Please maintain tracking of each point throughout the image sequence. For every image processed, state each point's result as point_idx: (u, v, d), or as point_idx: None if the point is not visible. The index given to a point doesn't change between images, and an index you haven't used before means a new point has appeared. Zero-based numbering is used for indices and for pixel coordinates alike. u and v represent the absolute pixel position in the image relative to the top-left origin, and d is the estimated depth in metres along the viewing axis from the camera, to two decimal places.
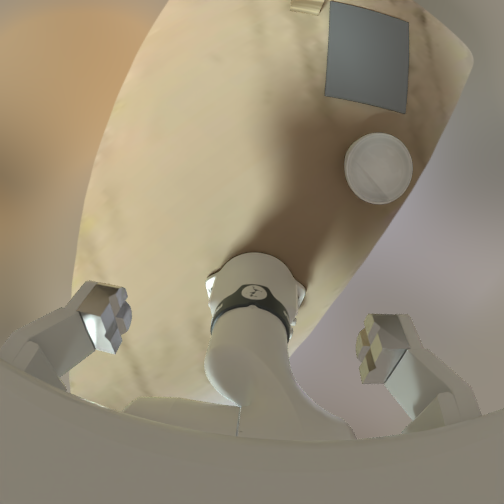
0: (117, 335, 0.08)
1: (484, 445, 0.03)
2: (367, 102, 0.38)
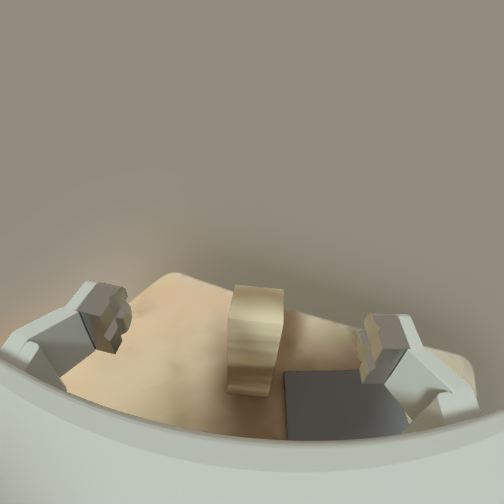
0: (117, 335, 0.08)
1: (484, 445, 0.03)
2: None
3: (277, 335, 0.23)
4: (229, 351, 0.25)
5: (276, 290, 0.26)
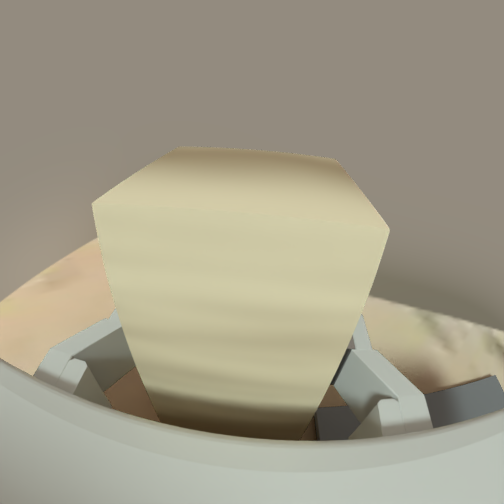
0: None
1: (484, 445, 0.03)
2: None
3: (346, 304, 0.05)
4: (144, 372, 0.06)
5: (314, 157, 0.07)
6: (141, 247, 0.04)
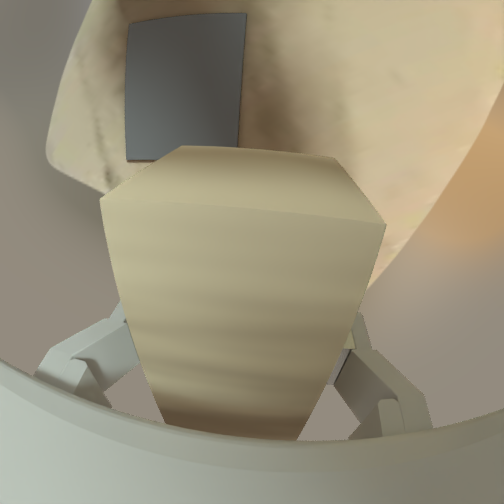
0: None
1: (484, 445, 0.03)
2: (183, 17, 0.23)
3: (345, 297, 0.05)
4: (147, 366, 0.06)
5: (314, 157, 0.08)
6: (147, 241, 0.04)
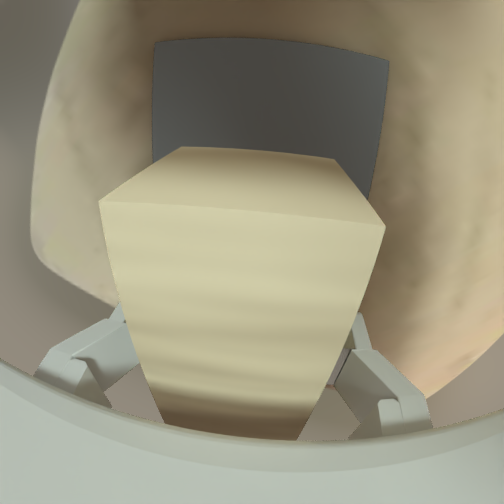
0: None
1: (484, 445, 0.03)
2: (271, 42, 0.13)
3: (344, 299, 0.05)
4: (147, 367, 0.06)
5: (313, 158, 0.08)
6: (146, 243, 0.04)
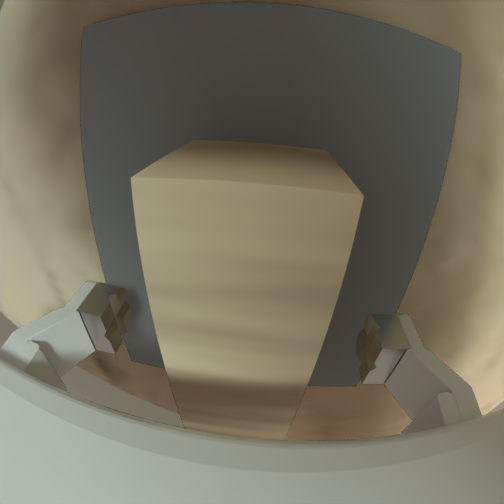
0: (117, 335, 0.08)
1: (484, 445, 0.03)
2: (269, 8, 0.06)
3: (333, 259, 0.06)
4: (161, 332, 0.07)
5: (308, 149, 0.09)
6: (170, 212, 0.06)
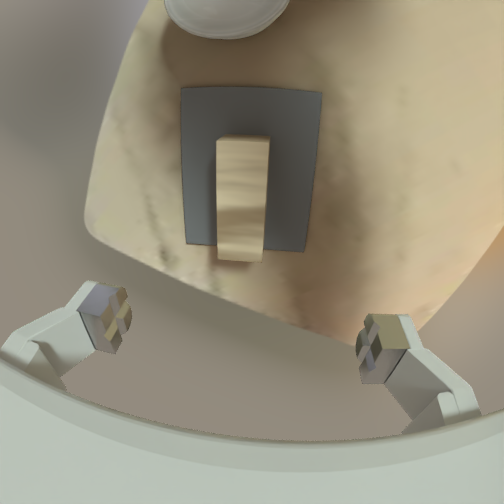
0: (117, 335, 0.08)
1: (484, 445, 0.03)
2: (249, 89, 0.25)
3: (264, 158, 0.24)
4: (218, 187, 0.26)
5: (263, 136, 0.27)
6: (225, 148, 0.24)
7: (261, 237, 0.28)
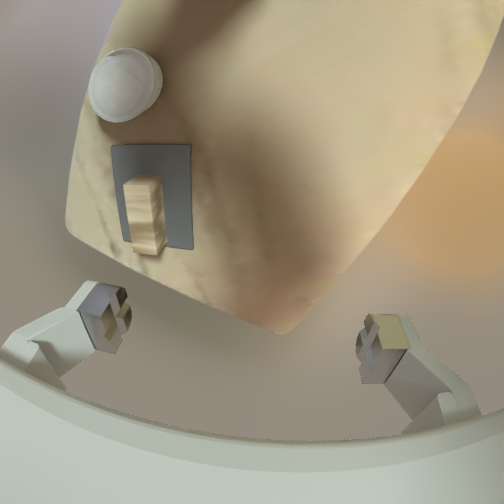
0: (117, 335, 0.08)
1: (484, 445, 0.03)
2: (147, 146, 0.40)
3: (147, 194, 0.39)
4: (127, 210, 0.41)
5: (157, 176, 0.42)
6: (128, 189, 0.39)
7: (154, 240, 0.43)
